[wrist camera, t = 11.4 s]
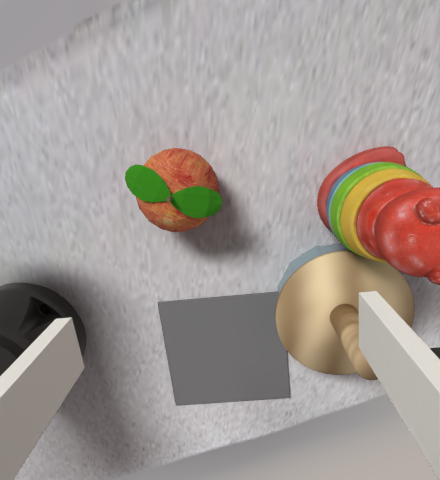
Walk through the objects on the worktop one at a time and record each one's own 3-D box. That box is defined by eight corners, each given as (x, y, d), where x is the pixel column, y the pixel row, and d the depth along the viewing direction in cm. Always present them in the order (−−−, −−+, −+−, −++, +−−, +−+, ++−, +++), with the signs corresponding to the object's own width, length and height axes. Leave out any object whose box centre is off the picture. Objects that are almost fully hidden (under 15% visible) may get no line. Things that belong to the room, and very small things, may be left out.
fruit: (202, 234, 43) (193, 263, 33) (130, 198, 42) (99, 217, 32) (235, 170, 40) (236, 181, 31) (160, 130, 39) (137, 129, 30)
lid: (277, 373, 42) (289, 436, 33) (272, 254, 38) (284, 290, 29) (406, 367, 41) (453, 430, 32) (415, 245, 37) (473, 279, 28)
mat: (176, 403, 50) (175, 405, 49) (158, 302, 45) (157, 303, 45) (289, 396, 49) (289, 397, 48) (282, 291, 44) (282, 292, 44)
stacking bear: (405, 235, 42) (526, 303, 25) (320, 249, 43) (379, 325, 26) (401, 142, 39) (533, 147, 22) (309, 160, 40) (367, 179, 23)
